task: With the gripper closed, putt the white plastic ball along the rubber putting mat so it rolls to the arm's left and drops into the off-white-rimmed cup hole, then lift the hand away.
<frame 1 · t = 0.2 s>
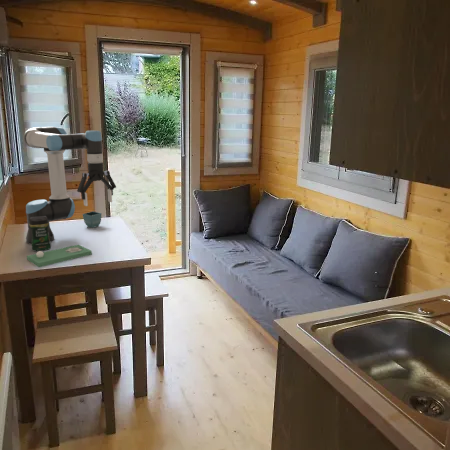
hand: (98, 203, 219), 28 cm above the table, fingers open, 13 cm apart
coffee jar: (41, 249, 235), on the table
putting mat: (60, 256, 223), on the table
ball: (40, 254, 215), point 4 cm above the table, touching putting mat
flower pot: (93, 227, 280), on the table
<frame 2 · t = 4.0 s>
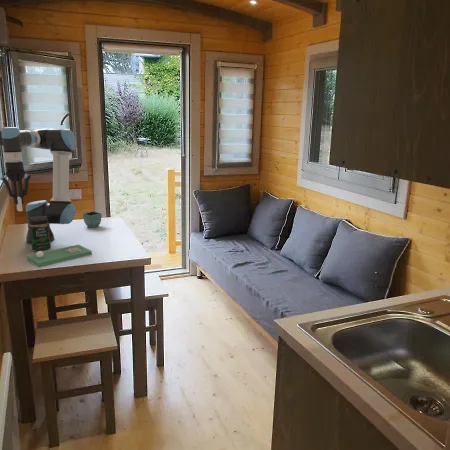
hand: (19, 210, 204), 28 cm above the table, fingers closed
nothing on the table moved.
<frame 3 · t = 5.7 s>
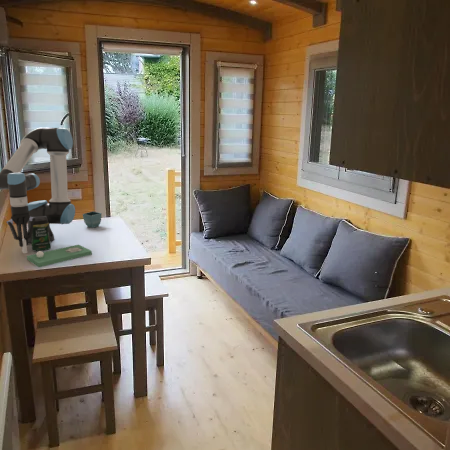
hand: (24, 252, 209), 7 cm above the table, fingers closed
nothing on the table moved.
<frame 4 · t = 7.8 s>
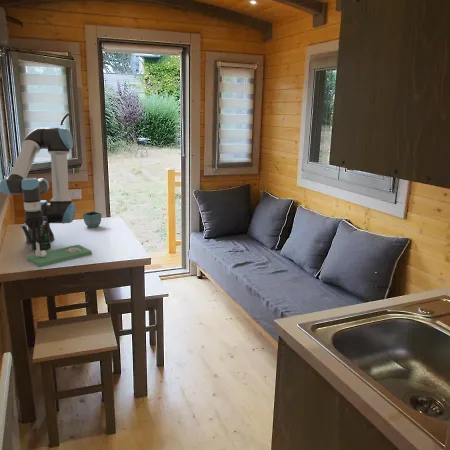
hand: (38, 255, 214), 3 cm above the table, fingers closed
ball: (42, 253, 216), point 4 cm above the table, tilted 42°, touching gripper, putting mat
everything else where it was.
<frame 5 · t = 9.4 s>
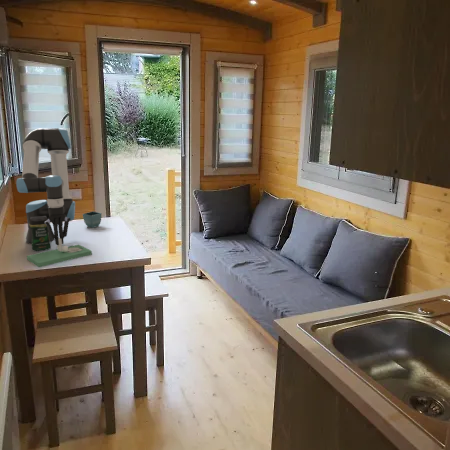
hand: (60, 250, 222), 3 cm above the table, fingers closed
ball: (64, 249, 224), point 4 cm above the table, touching gripper, putting mat
everything else where it was.
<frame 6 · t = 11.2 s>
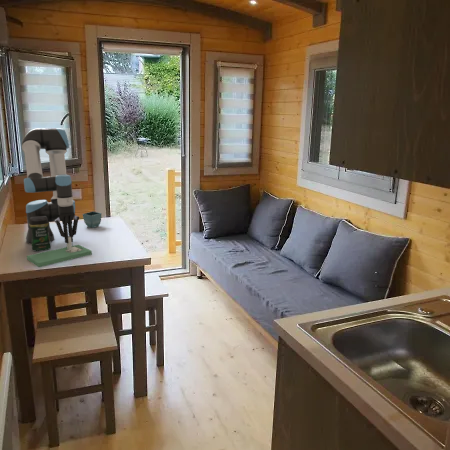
hand: (69, 248, 226), 3 cm above the table, fingers closed
ball: (74, 250, 228), point 2 cm above the table, tilted 149°
everything else where it was.
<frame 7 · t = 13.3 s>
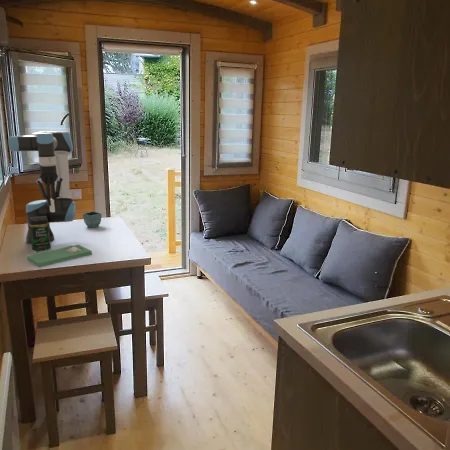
hand: (52, 211, 216), 24 cm above the table, fingers closed
nothing on the table moved.
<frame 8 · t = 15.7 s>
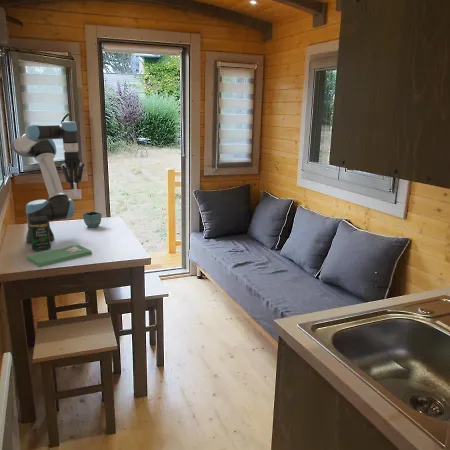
hand: (75, 194, 233), 29 cm above the table, fingers closed
ball: (74, 250, 228), point 2 cm above the table, tilted 160°
everything else where it was.
at the end: ball 0.4 cm from the target spot in the putting mat, point 1.7 cm above the putting mat's base; ball touching table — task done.
